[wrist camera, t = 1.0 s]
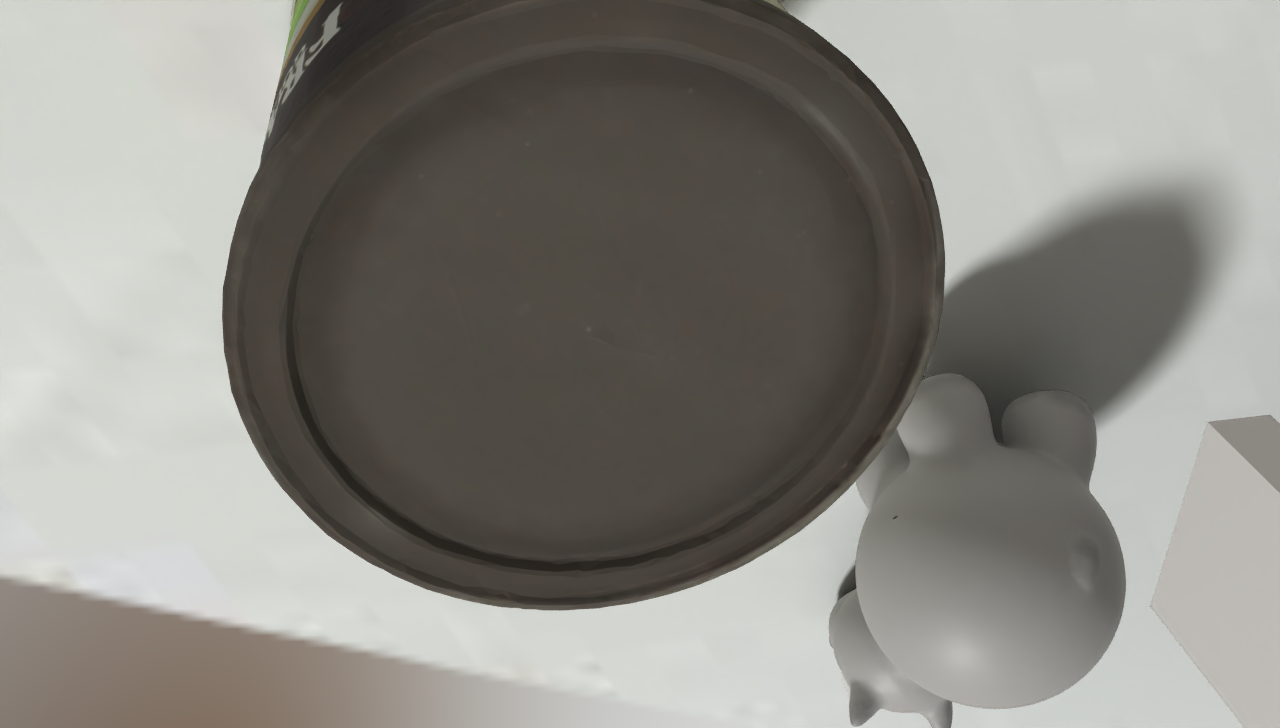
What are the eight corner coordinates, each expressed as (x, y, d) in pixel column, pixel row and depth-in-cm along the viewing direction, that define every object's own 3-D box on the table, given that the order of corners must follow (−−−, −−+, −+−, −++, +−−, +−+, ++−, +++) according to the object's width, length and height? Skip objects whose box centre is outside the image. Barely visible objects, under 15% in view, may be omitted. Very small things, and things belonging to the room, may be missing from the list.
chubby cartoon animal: (732, 538, 42) (751, 787, 37) (916, 332, 33) (975, 619, 28) (913, 571, 44) (955, 810, 39) (1130, 385, 35) (1222, 661, 30)
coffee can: (288, 227, 30) (225, 618, 19) (294, -224, 25) (211, -77, 14) (686, 253, 33) (852, 616, 21) (764, -154, 28) (1044, 23, 16)
